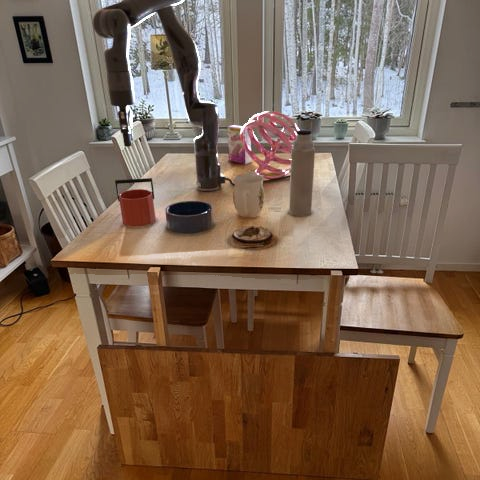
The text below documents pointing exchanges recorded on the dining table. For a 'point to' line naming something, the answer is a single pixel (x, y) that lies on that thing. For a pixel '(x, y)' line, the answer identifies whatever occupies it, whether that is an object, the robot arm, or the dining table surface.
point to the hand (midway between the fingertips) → (129, 143)
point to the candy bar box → (238, 145)
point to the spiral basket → (270, 141)
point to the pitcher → (248, 194)
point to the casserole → (189, 217)
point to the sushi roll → (254, 237)
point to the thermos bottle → (302, 174)
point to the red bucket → (136, 204)
